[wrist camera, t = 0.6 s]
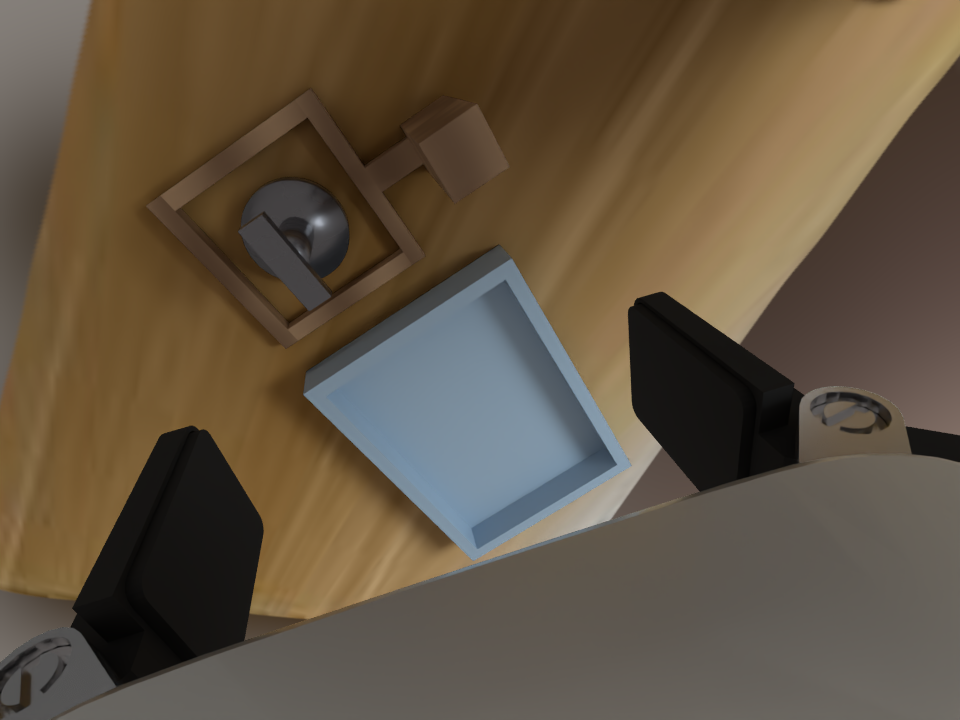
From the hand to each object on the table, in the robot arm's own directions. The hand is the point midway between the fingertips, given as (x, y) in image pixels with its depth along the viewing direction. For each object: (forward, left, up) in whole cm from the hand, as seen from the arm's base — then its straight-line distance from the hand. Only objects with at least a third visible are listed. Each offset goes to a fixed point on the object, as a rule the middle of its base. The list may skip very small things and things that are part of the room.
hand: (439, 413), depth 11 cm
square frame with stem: (+2, -1, -24) cm, 24 cm away
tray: (+3, +18, -24) cm, 30 cm away
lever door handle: (+5, -1, -24) cm, 24 cm away
